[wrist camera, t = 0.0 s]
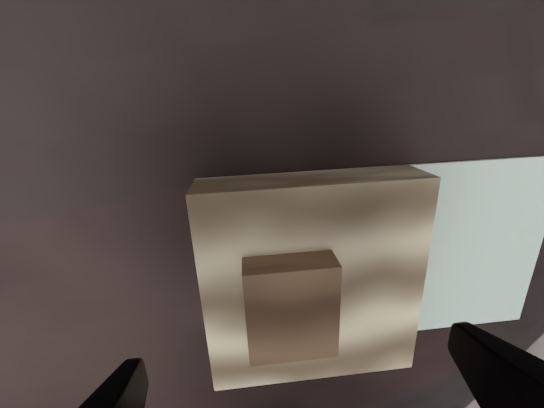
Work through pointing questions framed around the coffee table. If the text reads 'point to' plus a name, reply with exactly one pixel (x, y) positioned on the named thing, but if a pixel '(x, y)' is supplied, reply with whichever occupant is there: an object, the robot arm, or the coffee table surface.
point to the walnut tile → (292, 306)
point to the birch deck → (315, 237)
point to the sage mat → (483, 240)
